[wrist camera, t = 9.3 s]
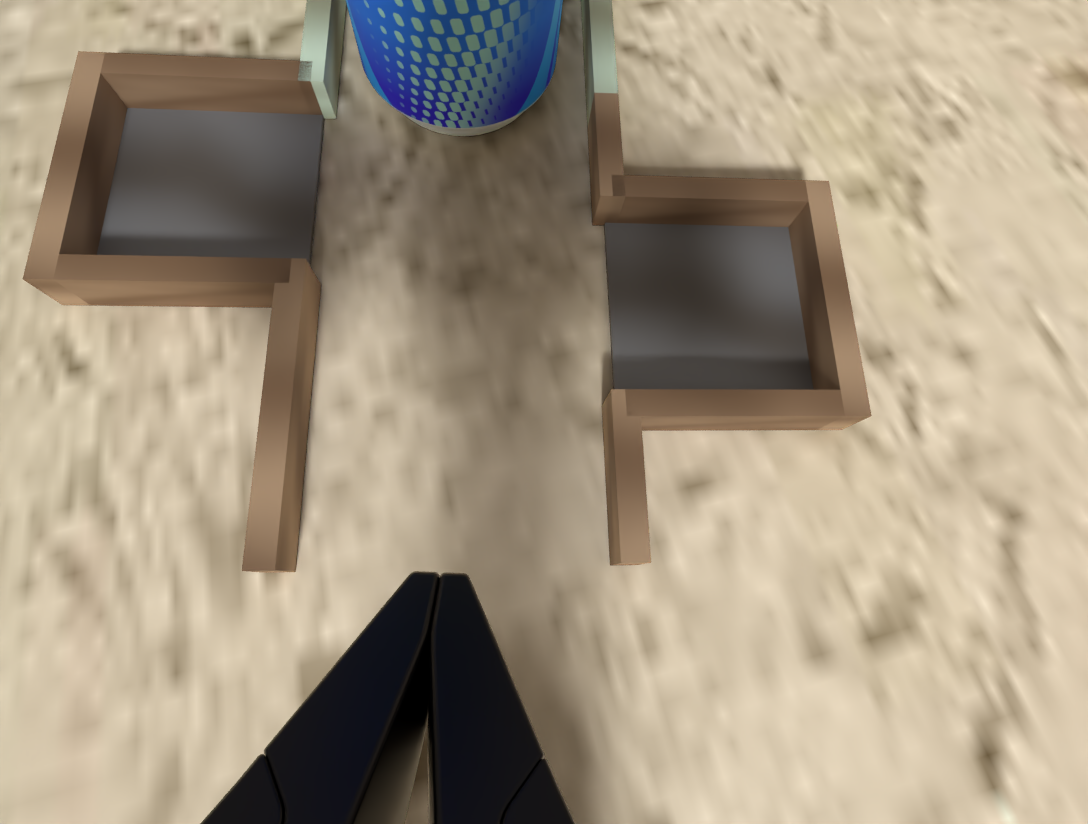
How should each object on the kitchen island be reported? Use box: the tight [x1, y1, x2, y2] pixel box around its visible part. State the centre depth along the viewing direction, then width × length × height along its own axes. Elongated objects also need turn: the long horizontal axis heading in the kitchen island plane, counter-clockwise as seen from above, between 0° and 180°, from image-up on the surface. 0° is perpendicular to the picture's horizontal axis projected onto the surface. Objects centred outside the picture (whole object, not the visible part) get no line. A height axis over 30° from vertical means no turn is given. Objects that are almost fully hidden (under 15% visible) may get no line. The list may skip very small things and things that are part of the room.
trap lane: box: [23, 0, 871, 573], centre depth 23 cm, size 28×30×4 cm
